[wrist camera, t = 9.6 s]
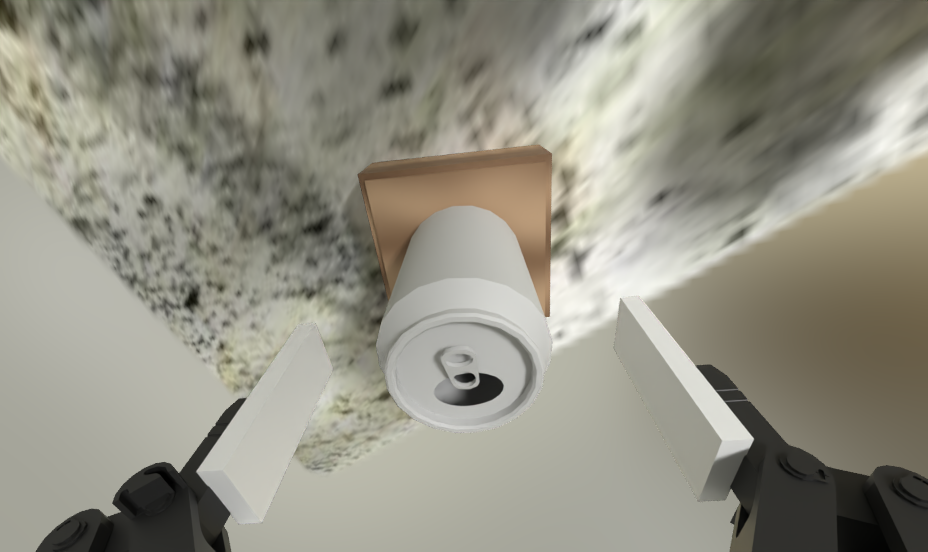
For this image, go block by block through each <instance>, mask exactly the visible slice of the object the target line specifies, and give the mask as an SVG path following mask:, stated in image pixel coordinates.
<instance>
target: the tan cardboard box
mask: <svg viewBox="0 0 928 552" xmlns="http://www.w3.org/2000/svg"><path fill="white" fill-rule="evenodd" d="M551 174H552V153H550V152H549V151H547V150H546V149H545V148H543V147H542V146H540V145H531V146H522V147H513V148H504V149H495V150H486V151H477V152H468V153H459V154H449V155H440V156H431V157H422V158H413V159H404V160H395V161H386V162H377V163H372V164H371V165H369V166H368V167H367V168H365V169H364V170H363V171H362V172H360V173H359V174H358V178H359V182H360V186H361V190H362V195H363V199H364V203H365V207H366V211H367V215H368V219H369V223H370V228H371V232H372V236H373V240H374V244H375V248H376V252H377V256H378V260H379V265H380V269H381V273H382V277H383V281H384V285H385V289H386V293H387V297H388V302H389V299H390V297H391V294H392V291H393V288H394V285H395V283H396V280H397V277H398V274H399V271H400V269H401V266H402V263H403V260H404V257H405V255H406V252H407V249H408V246H409V243H410V240H411V238H412V236H413V235H414V233H415V232H416V230H417V229H418V227H419V226H420V224H421V223H422V222H423V221H425V220H426V219H427V218H428V217H430V216H431V215H432V214H434V213H435V212H437V211H440V210H443V209H446V208H449V207H452V206H475V207H479V208H482V209H485V210H489V211H491V212H493V213H494V214H495V215H497V216H498V217H500V218H501V219H503V220H504V221H505V222H506V223H507V224H508V226H509V227H510V228H511V230H512V231H513V232H514V234H515V235H516V238H517V241H518V243H519V246H520V249H521V252H522V255H523V257H524V260H525V263H526V266H527V268H528V271H529V274H530V277H531V279H532V282H533V285H534V288H535V290H536V293H537V296H538V299H539V302H540V304H541V307H542V310H543V313H544V315H545V317H550V251H551Z"/></svg>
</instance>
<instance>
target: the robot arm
mask: <svg viewBox="0 0 928 552" xmlns="http://www.w3.org/2000/svg"><path fill="white" fill-rule="evenodd" d="M614 350H615V352H616V354H617V355H618V357H619V359H620V360H621V363H622V364H623V366H624V368H625V370H626V372H627V374H628V375H629V377H630V379H631V381H632V383H633V385H634V386H635V388H636V390H637V392H638V394H639V395H640V397H641V399H642V401H643V403H644V405H645V406H646V408H647V410H648V412H649V414H650V415H651V417H652V419H653V421H654V422H655V425H656V426H657V428H658V430H659V432H660V433H661V435H662V437H663V439H664V441H665V443H666V444H667V446H668V448H669V450H670V452H671V454H672V455H673V457H674V459H675V461H676V463H677V464H678V466H679V468H680V470H681V472H682V474H683V475H684V477H685V479H686V481H687V482H688V484H689V486H690V488H691V490H692V492H693V494H694V495H695V497H696V499H697V501H698V502H700V501H720V500H726V498H727V496H728V494H729V491H730V489H732V490H733V492H734V493H735V495H736V497H737V498H738V499H739V501H740V504H739V506H738V508H737V510H736V512H735V514H734V516H733V518H732V520H731V522H730V523H732V524H734V530H733V535H732V541H731V547H730V552H928V479H926V478H924V477H922V476H921V475H919V474H917V473H914V472H912V471H909V470H906V469H904V468H901V467H895V466H888V465H886V466H880V467H877V468H876V469H875V470H874V472H873V473H872V474H871V476H867V475H862V474H857V473H853V472H848V471H843V470H839V469H834V468H830V467H826V466H825V465H824V464H823V463H822V462H821V461H819V460H818V459H817V458H816V457H814V456H813V455H811V454H809V453H807V452H805V451H803V450H802V449H800V448H796V447H793V446H790V445H788V444H787V443H786V442H785V441H784V440H783V439H782V438H781V436H780V435H779V434H778V433H777V432H776V431H775V430H774V429H773V428H772V426H771V425H770V424H769V423H768V422H767V421H766V419H765V418H764V417H763V416H762V415H761V414H760V413H759V411H758V410H757V409H756V408H755V407H754V406H753V405H752V404H751V402H748V401H747V398H746V397H745V396H744V395H743V393H742V392H741V391H738V388H737V387H736V385H735V384H734V383H733V382H732V381H731V380H730V379H729V378H728V376H727V375H725V374H724V373H722V372H721V371H719V370H718V369H716V368H715V367H713V366H712V365H697V366H695V365H694V364H693V362H692V361H691V360H690V359H689V357H688V356H687V355H686V354H685V353H684V351H683V350H682V349H681V347H680V346H679V345H678V344H677V343H676V341H675V340H674V339H673V338H672V336H671V335H670V334H669V332H668V331H667V330H666V329H665V327H664V326H663V325H662V324H661V322H660V321H659V320H658V319H657V318H656V316H655V315H654V314H653V313H652V311H651V310H650V309H649V308H648V306H647V305H646V304H645V303H644V301H643V300H642V299H641V298H640V296H632V297H620V304H619V311H618V319H617V326H616V333H615V341H614ZM332 371H333V367H332V364H331V362H330V359H329V357H328V354H327V351H326V349H325V346H324V344H323V341H322V339H321V336H320V333H319V331H318V328H317V326H316V323H305V324H298V325H297V327H296V328H295V330H294V331H293V333H292V334H291V336H290V337H289V338H288V340H287V341H286V343H285V344H284V346H283V347H282V349H281V350H280V351H279V353H278V354H277V356H276V357H275V359H274V360H273V362H272V363H271V364H270V366H269V367H268V369H267V370H266V372H265V373H264V375H263V376H262V377H261V379H260V380H259V382H258V383H257V385H256V386H255V388H254V389H253V390H252V392H251V393H250V395H249V396H248V398H242V399H238V400H237V401H236V402H235V403H233V404H232V405H231V406H230V407H229V408H228V409H226V410H225V412H224V413H223V414H222V416H221V417H220V418H219V420H218V421H217V422H216V426H214V427H213V428H212V429H211V431H210V432H209V433H208V437H206V438H205V439H204V440H203V442H202V443H201V444H200V446H199V447H198V448H197V450H196V451H195V453H194V454H193V455H192V457H191V458H190V459H189V461H188V462H187V463H186V465H185V466H184V467H183V469H182V470H181V472H180V473H178V472H177V471H176V469H175V468H174V467H173V466H172V465H171V464H170V463H166V462H161V463H155V464H153V465H151V466H148V467H146V468H144V469H142V470H141V471H139V472H138V473H136V474H135V475H133V476H132V477H131V478H130V479H129V480H127V482H125V483H124V484H123V485H122V486H121V488H120V489H119V490H118V492H117V493H116V495H115V497H114V500H113V505H115V506H116V507H117V508H118V509H119V510H120V511H121V512H120V513H117V514H114V515H111V516H108V517H107V516H105V515H104V514H103V513H102V512H101V511H100V510H99V509H89V510H85V511H82V512H79V513H77V514H76V515H74V516H72V517H70V518H68V519H67V520H65V521H64V522H63V523H61V524H60V525H59V526H57V527H56V528H55V529H54V530H53V531H52V532H51V533H50V534H49V535H48V536H47V537H46V538H45V539H44V540H43V542H42V543H41V544H40V546H39V547H38V549H37V550H36V552H231V548H230V543H229V537H228V533H227V531H226V529H225V527H224V525H225V523H226V521H227V519H228V517H229V516H230V515H231V516H232V517H233V518H234V519H235V521H236V522H237V523H238V524H255V523H262V522H263V520H264V518H265V515H266V513H267V511H268V509H269V507H270V505H271V503H272V500H273V498H274V496H275V494H276V492H277V490H278V487H279V485H280V483H281V481H282V479H283V477H284V474H285V472H286V470H287V468H288V466H289V464H290V461H291V459H292V457H293V455H294V453H295V451H296V449H297V446H298V444H299V442H300V440H301V438H302V436H303V433H304V431H305V429H306V427H307V425H308V423H309V420H310V418H311V416H312V414H313V412H314V410H315V408H316V405H317V403H318V401H319V399H320V397H321V395H322V392H323V390H324V388H325V386H326V384H327V382H328V379H329V377H330V375H331V373H332Z"/></svg>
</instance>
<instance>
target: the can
mask: <svg viewBox="0 0 928 552" xmlns="http://www.w3.org/2000/svg"><path fill="white" fill-rule="evenodd" d="M376 348H377V354H378V360H379V365H380V368H381V369H382V371H383V373H384V374H385V380H386V386H387V390H388V392H389V393H390V395H391V396H392V398H393V400H394V401H395V403H396V404H397V406H398V407H399V408H401V409H402V410H403V411H404V412H405V413H407V414H408V415H409V416H410V417H411V418H413V419H414V420H416V421H418V422H421V423H423V424H425V425H427V426H429V427H432V428H434V429H439V430H444V431H449V432H454V433H462V432H463V433H464V432H480V431H484V430H489V429H493V428H497V427H500V426H502V425H504V424H506V423H508V422H510V421H512V420H514V419H516V418H518V417H519V416H520V415H521V414H522V413H523V412H525V411H526V410H527V409H528V408H529V407H530V406H531V405H532V404H533V403H534V401H535V399H536V398H537V396H538V394H539V392H540V390H541V389H542V387H543V378H544V373H545V372H546V370H547V368H548V366H549V364H550V359H551V351H552V338H551V335H550V331H549V328H548V325H547V321H546V318H545V315H544V313H543V310H542V307H541V304H540V302H539V299H538V296H537V293H536V290H535V288H534V285H533V282H532V279H531V277H530V274H529V271H528V268H527V266H526V263H525V260H524V257H523V255H522V252H521V249H520V246H519V243H518V241H517V238H516V235H515V234H514V232H513V231H512V230H511V228H510V227H509V226H508V224H507V223H506V222H505V221H504V220H503V219H501V218H500V217H498V216H497V215H495V214H494V213H493V212H491V211H489V210H485V209H482V208H479V207H475V206H452V207H449V208H446V209H443V210H440V211H437V212H435V213H434V214H432V215H431V216H430V217H428V218H427V219H426V220H425V221H423V222H422V223H421V224H420V226H419V227H418V229H417V230H416V232H415V233H414V235H413V236H412V238H411V240H410V243H409V246H408V249H407V252H406V255H405V257H404V260H403V263H402V266H401V269H400V271H399V274H398V277H397V280H396V283H395V285H394V288H393V291H392V294H391V297H390V299H389V302H388V305H387V308H386V311H385V313H384V316H383V319H382V322H381V325H380V330H379V334H378V338H377V343H376Z"/></svg>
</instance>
